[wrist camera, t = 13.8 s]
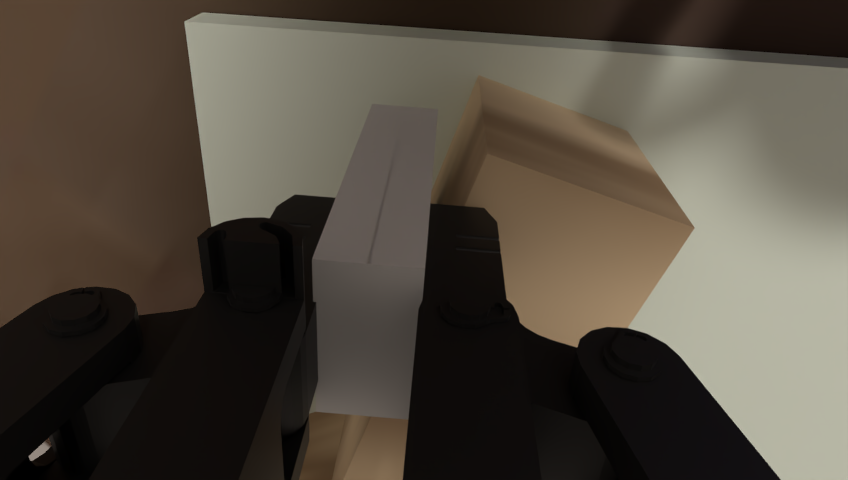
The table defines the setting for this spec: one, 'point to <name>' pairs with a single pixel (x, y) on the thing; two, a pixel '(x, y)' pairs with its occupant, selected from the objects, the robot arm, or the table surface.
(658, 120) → the board
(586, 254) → the link
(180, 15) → the table surface
